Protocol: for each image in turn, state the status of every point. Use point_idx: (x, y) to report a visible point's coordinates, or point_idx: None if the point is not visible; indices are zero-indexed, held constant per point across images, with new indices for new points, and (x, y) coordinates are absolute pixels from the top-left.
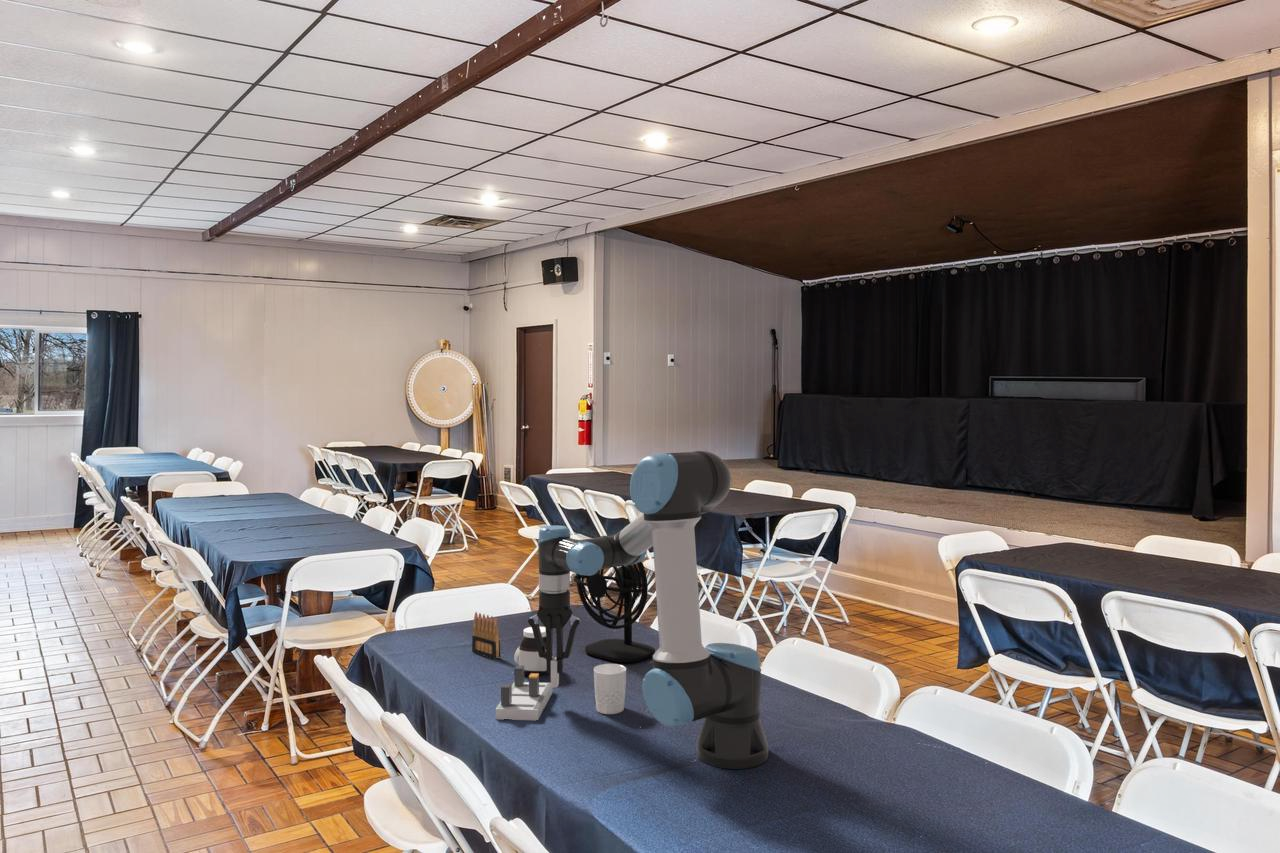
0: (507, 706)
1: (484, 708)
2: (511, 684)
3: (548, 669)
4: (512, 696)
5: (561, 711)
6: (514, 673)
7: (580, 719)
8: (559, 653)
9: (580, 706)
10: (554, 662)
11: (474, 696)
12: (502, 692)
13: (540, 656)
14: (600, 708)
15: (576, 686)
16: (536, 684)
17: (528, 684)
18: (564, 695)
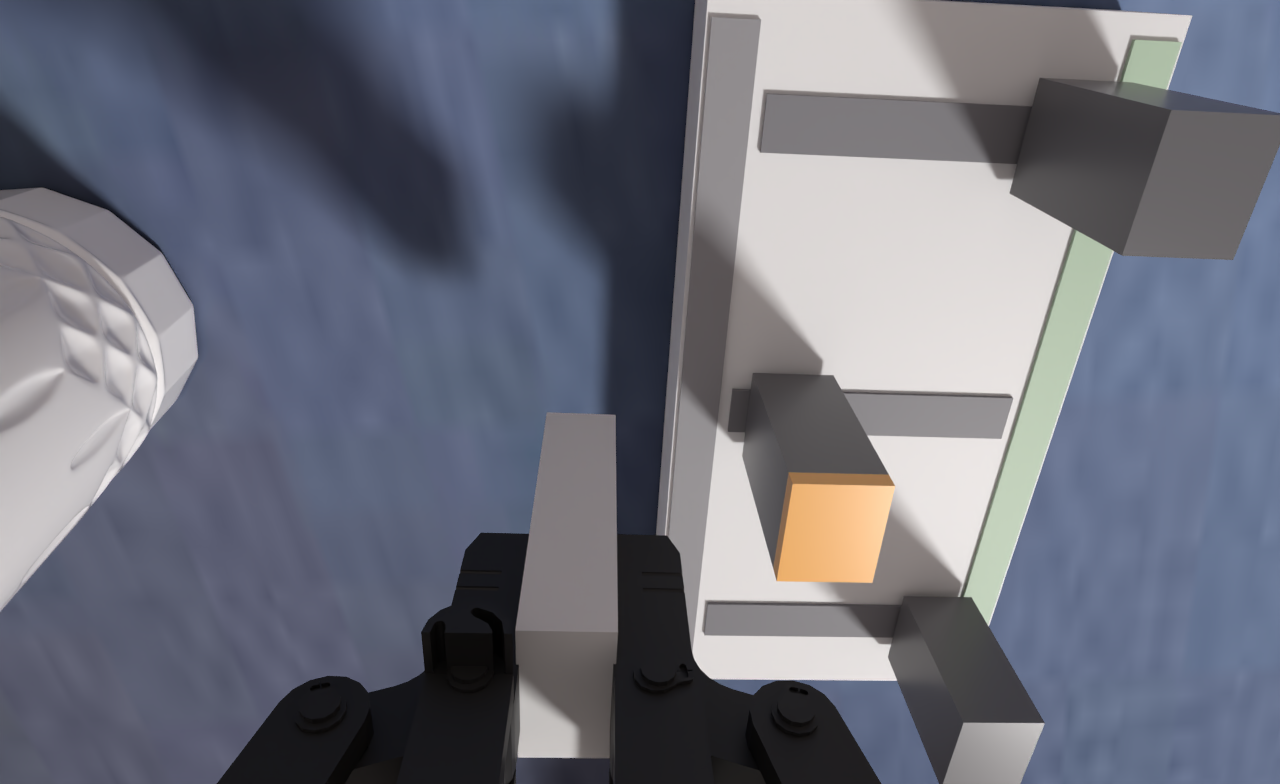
0: None
1: (1198, 290)
2: (1122, 248)
3: (653, 563)
4: (990, 378)
5: (503, 248)
6: (1019, 681)
7: (263, 41)
8: (447, 748)
9: (361, 370)
10: (554, 613)
11: (1245, 527)
12: (1217, 102)
13: (802, 694)
14: (92, 226)
15: None
16: (781, 432)
17: (850, 635)
18: None
